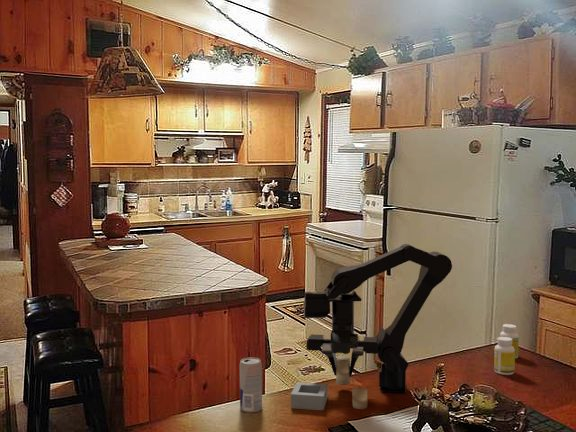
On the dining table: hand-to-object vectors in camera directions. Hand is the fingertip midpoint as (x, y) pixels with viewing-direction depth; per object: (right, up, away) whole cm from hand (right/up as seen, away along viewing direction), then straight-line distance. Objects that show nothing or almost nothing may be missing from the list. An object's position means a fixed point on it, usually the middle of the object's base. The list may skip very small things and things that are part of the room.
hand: (343, 375), depth 150 cm
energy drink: (-24, -5, -11) cm, 27 cm away
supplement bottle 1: (+54, -2, +26) cm, 60 cm away
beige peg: (0, -2, 0) cm, 2 cm away
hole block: (-9, -5, -8) cm, 13 cm away
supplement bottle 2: (+47, -3, +12) cm, 49 cm away
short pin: (+3, -5, -10) cm, 12 cm away
